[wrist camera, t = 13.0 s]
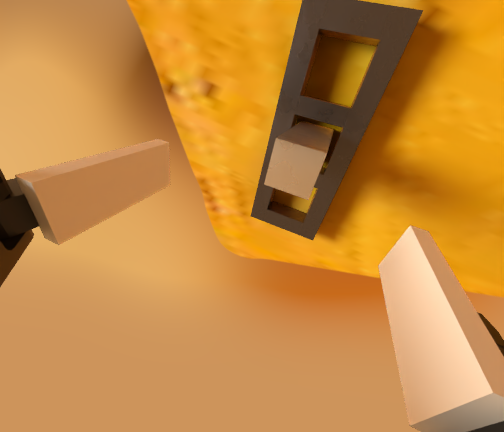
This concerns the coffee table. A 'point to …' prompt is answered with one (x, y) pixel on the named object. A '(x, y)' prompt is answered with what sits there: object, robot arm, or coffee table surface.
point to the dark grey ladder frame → (349, 118)
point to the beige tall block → (298, 158)
